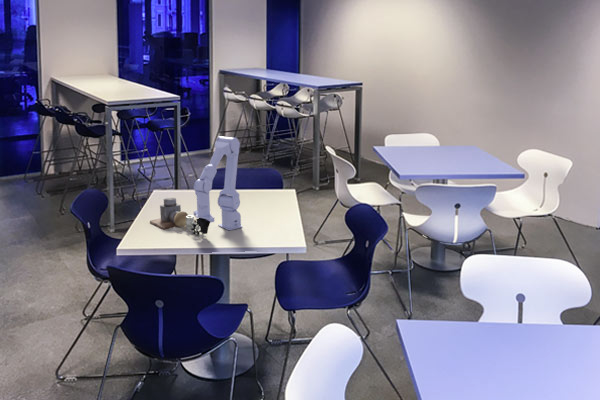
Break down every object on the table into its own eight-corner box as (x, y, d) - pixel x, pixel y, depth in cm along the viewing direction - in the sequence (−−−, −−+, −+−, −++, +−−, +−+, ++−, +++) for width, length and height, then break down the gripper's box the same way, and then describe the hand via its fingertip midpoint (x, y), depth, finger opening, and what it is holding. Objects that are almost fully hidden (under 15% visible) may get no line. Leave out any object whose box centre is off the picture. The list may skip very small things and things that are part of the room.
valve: (182, 229, 302) (192, 236, 292) (181, 216, 300) (191, 222, 290) (194, 227, 305) (205, 234, 295) (194, 214, 303) (204, 220, 293)
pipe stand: (198, 223, 310) (197, 200, 307) (165, 230, 299) (164, 207, 296) (181, 215, 322) (180, 194, 319) (149, 222, 311) (148, 200, 308)
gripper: (187, 203, 289) (188, 231, 292) (204, 210, 278) (205, 239, 282) (200, 200, 293) (201, 228, 297) (217, 207, 283) (218, 235, 286)
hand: (204, 233), depth 290 cm, fingers closed
